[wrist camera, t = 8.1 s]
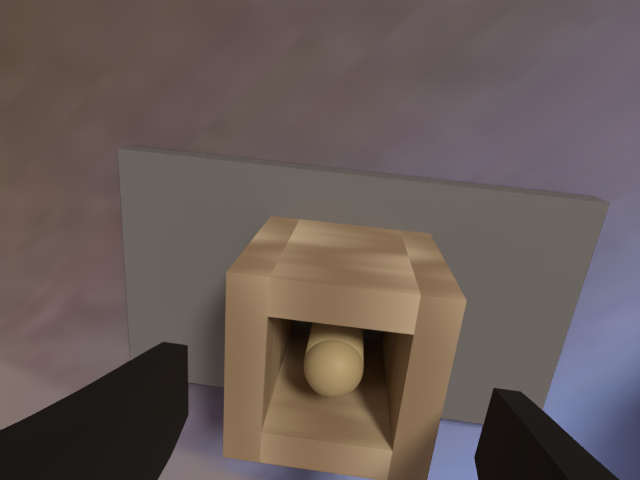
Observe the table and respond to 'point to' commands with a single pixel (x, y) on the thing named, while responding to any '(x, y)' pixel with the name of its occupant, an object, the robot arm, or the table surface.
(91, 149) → the table surface
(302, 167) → the grey peg stand
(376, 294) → the bead
